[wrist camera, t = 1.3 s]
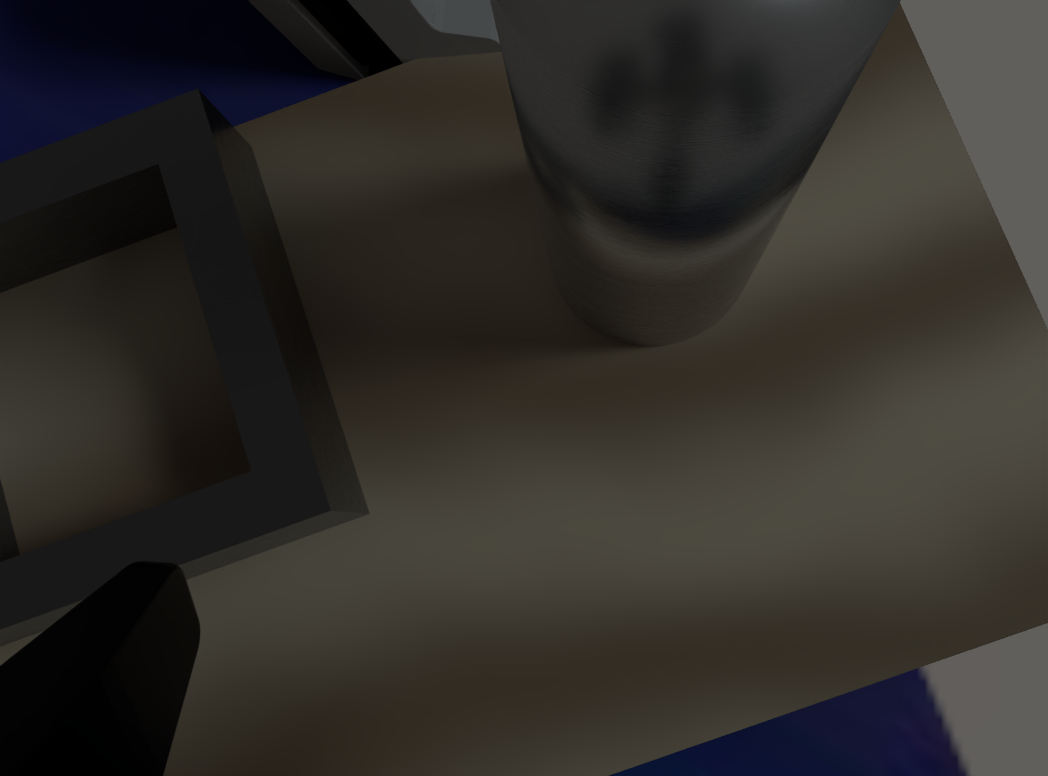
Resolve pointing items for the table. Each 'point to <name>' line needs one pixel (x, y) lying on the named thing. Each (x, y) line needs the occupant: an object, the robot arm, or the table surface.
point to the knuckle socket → (236, 332)
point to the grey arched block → (381, 30)
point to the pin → (673, 141)
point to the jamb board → (564, 447)
